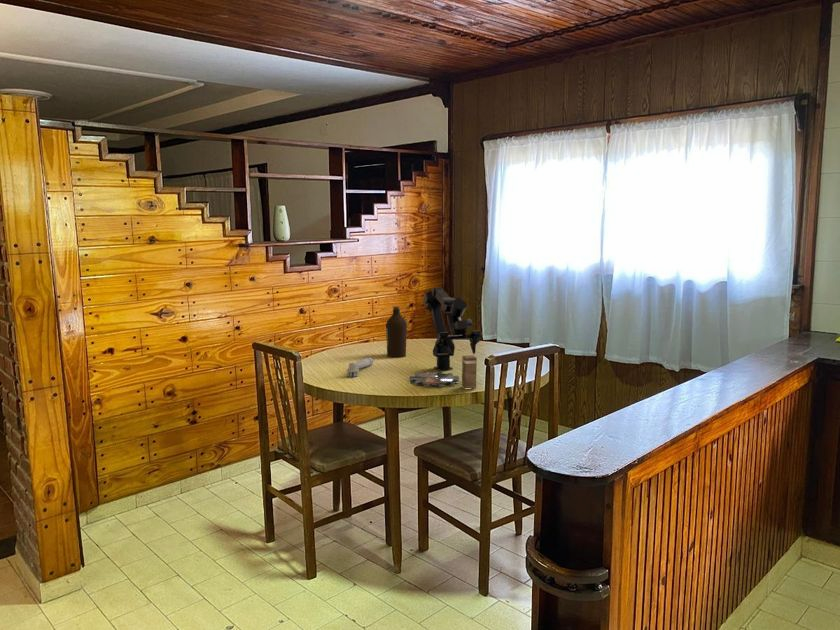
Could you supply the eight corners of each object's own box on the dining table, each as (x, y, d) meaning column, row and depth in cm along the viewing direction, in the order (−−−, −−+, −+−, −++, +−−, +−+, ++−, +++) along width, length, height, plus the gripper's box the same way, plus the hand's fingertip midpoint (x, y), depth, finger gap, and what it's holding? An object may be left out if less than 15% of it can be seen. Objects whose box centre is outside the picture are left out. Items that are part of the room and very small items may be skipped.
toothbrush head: (374, 357, 293) (356, 361, 269) (374, 371, 293) (355, 377, 269) (364, 356, 294) (345, 360, 270) (363, 370, 295) (344, 376, 270)
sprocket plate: (400, 378, 268) (400, 373, 268) (442, 372, 279) (442, 367, 278) (425, 390, 250) (425, 384, 250) (468, 383, 260) (468, 378, 260)
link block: (461, 386, 256) (462, 355, 254) (472, 386, 257) (472, 355, 255) (465, 389, 251) (466, 358, 249) (476, 388, 252) (476, 357, 250)
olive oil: (408, 353, 318) (408, 305, 314) (405, 358, 307) (405, 308, 304) (388, 353, 319) (387, 304, 315) (384, 357, 309) (383, 307, 305)
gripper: (438, 313, 259) (446, 344, 250) (481, 311, 263) (490, 342, 255) (433, 329, 267) (440, 359, 258) (474, 327, 272) (483, 357, 263)
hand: (463, 354), depth 258 cm, fingers open, 9 cm apart
